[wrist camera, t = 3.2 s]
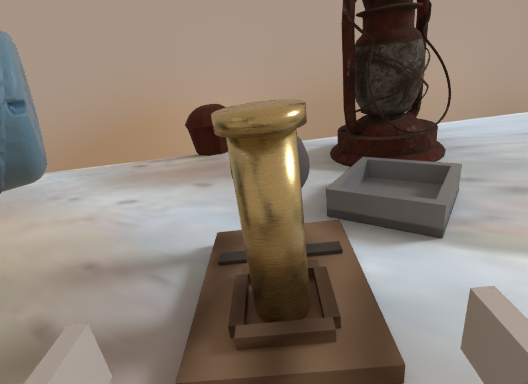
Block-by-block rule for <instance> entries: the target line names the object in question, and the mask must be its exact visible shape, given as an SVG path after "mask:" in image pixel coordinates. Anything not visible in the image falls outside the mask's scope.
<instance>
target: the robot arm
mask: <svg viewBox="0 0 528 384" xmlns="http://www.w3.org/2000/svg"><path fill="white" fill-rule="evenodd" d="M46 166H47V159H46V153H45V148H44V143H43V139H42V135H41V130H40V127H39V123H38V118H37V114H36V111H35V107H34V103H33V100H32V96H31V93H30V89H29V86H28V82H27V79H26V76H25V72H24V69H23V66H22V63H21V60H20V57H19V54H18V51H17V48H16V46H15V44H14V43H13V41H12V38H11V37H10V36H9V35H8V34H7V33H6V32H3V31H0V194H1V192H3V191H7V190H10V189H13V188H17V187H20V186H24V185H27V184H31V183H33V182H35V181H37V180H38V179H40V178H41V177H42V176H43V174H44V172H45V171H46ZM461 350H462V351H463V353H464V354H465V356H466V357H467V359H468V360H469V362H470V363H471V365H472V366H473V368H474V369H475V371H476V372H477V374H478V375H479V377H480V378H481V380H482V381H483V383H484V384H528V319H527V318H526V317H525V316H524V315H523V314H522V313H521V312H520V311H519V310H518V309H517V308H516V307H515V306H514V305H513V304H512V303H511V302H510V301H509V300H508V299H507V298H506V297H505V296H504V295H503V294H502V293H501V292H500V291H499V290H498V289H497V288H496V287H495V286H488V287H477V288H470V294H469V300H468V306H467V312H466V318H465V324H464V330H463V336H462V343H461ZM111 379H112V375H111V373H110V370H109V368H108V366H107V364H106V361H105V359H104V357H103V355H102V352H101V350H100V348H99V346H98V344H97V341H96V339H95V337H94V335H93V332H92V330H91V328H90V326H89V323H84V324H73V325H67V326H66V328H65V329H64V330H63V332H62V333H61V334H60V336H59V337H58V338H57V340H56V341H55V343H54V344H53V345H52V347H51V348H50V349H49V351H48V352H47V353H46V355H45V356H44V357H43V359H42V360H41V361H40V363H39V364H38V365H37V367H36V368H35V369H34V371H33V372H32V373H31V375H30V376H29V378H28V379H27V380H26V382H25V383H24V384H109V383H110V381H111Z"/></svg>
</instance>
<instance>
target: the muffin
mask: <svg viewBox="0 0 528 384" xmlns="http://www.w3.org/2000/svg"><path fill="white" fill-rule="evenodd" d="M223 108H226V107H224V106H222V105H219V104H209V105H203V106H200V107H198V108H196V109H195V110H194V111H193V112H192V113H191V114H190V115H189V117H188V119H187V122H186V124H185V126H186V127H187V129H188V131H189V133H190V136H191V138H192V141H193V144H194V146H195V149H196V152H197V153H198V154H199V155H207V156H210V155H216V154H222V153H225V152H228V145H227V139H226V137H220V136H217V135H216V134H215V133H214V128H213V122H212V117H211V114H212V113H213V112H215V111H217V110H220V109H223Z"/></svg>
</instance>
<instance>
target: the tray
mask: <svg viewBox="0 0 528 384" xmlns="http://www.w3.org/2000/svg"><path fill="white" fill-rule="evenodd" d="M461 168H462V164H457V163H443V162H429V161H414V160H400V159H386V158H372V157H362V158H361V159H360V160H359V161H357V162H356V163H355V164H354V165H353V166H352V167H350V168H349V169H348V170H347V171H346V172H345V173H344V174H342V175H341V176H340V177H339V178H338V179H337V180H336V181H334V182H333V183H332V184H331V185H330V186H329V187H328V188H326V198H327V216H330V217H335V218H340V219H345V220H351V221H356V222H361V223H366V224H371V225H377V226H382V227H387V228H392V229H398V230H403V231H408V232H413V233H418V234H424V235H429V236H434V237H439V238H443V235H444V232H445V229H446V226H447V223H448V220H449V218H450V215H451V212H452V209H453V206H454V203H455V200H456V197H457V194H458V191H459V183H460V176H461Z"/></svg>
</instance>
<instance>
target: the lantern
mask: <svg viewBox="0 0 528 384" xmlns="http://www.w3.org/2000/svg"><path fill="white" fill-rule="evenodd" d="M356 1H357V0H343V11H342V51H343V96H344V114H345V121H346V122H345V123H346V125H344V126H342V127H340V128H339V129H338V144H337V145H336V146H334V148H333V149H332V150H331V152H330V155H331V158H332V159H333V160H334V161H336V162H338V163H340V164H342V165H346V166H350V167H352V166H353V165H354V164H355V163H356V162H357V161H359V160H360V159H361V158H362V157H372V158H386V159H400V160H414V161H429V162H436V161H438V160H440V159H441V158H442V157H443V156H444V154H445V148H444V147H443V146H442V145H441V144H440V143H439V142H438V141H436V140H437V129H438V126H437V124H438V123H439V122H440V121H441V120H442V119H443V118H444V116H445V115H446V113H447V111H448V108H449V105H450V100H451V88H450V80H449V76H448V73H447V70H446V67H445V65H444V63H443V61H442V59H441V57H440V55H439V54H438V52H437V51H436V49H435V48H434V47H433V46H432V44H431V43H430V42H429V41H428V40H427V30H428V22H429V20H430V15H431V3H430V1H429V0H417V3H412V2H413V0H362V1H363V4H364V7H365V11H363V12H360V13H358V14H356V16H358V17H362V18H363V30H362V29H360V28H359V27H358V26H357V25H356V24H355V23H354V17H355V3H356ZM416 8H417V23H416V28H415V27H414V17H415V9H416ZM354 27H355V28H356V29H357V30H358V31H360V32H361V33H362V35H361V37H360V38H359V39H358V40H357V42H356V44H355V40H354V38H355V37H354V36H355V35H354ZM426 42H427V43H428V45H429V46H430V47H431V48H432V50H433V51H434V52H435V54H436V55H437V57H438V59H439V60H440V62H441V64H442V66H443V69H444V71H445V74H446V78H447V82H448V88H449V98H448V104H447V108H446V111H445V113H444V114H443V116H442V117H441V119H440V120H439V121H438V122H437V123H434V122H431V121H428V120H423V119H417V118H416V116H417V114H418V112H419V110H420V105H421V100H422V98H423V97H424V96H425V94H426V92H427V90H428V84H427V83H426V82H425V81H424V80H423V77H424V71H425V70H426V68H427V66H428V64H429V61H430V53H429V50H428V49H427V48H426ZM426 49H427V50H428V53H429V59H428V62H427V64H426V66H425V53H426ZM423 83H424V84H425V85H426V86H427V90H426V92H425V94H424V95H423V97H422V91H423ZM355 99H356V102H357V103H358V105H359V107H360V108H361V109H359V110H356V111H355ZM359 111H361V113H364V114H367V115H365V116H363V117H362V118H360V119H358V120H357V121H356V112H359ZM406 111H408V112H406ZM404 112H406V113H404Z"/></svg>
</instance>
